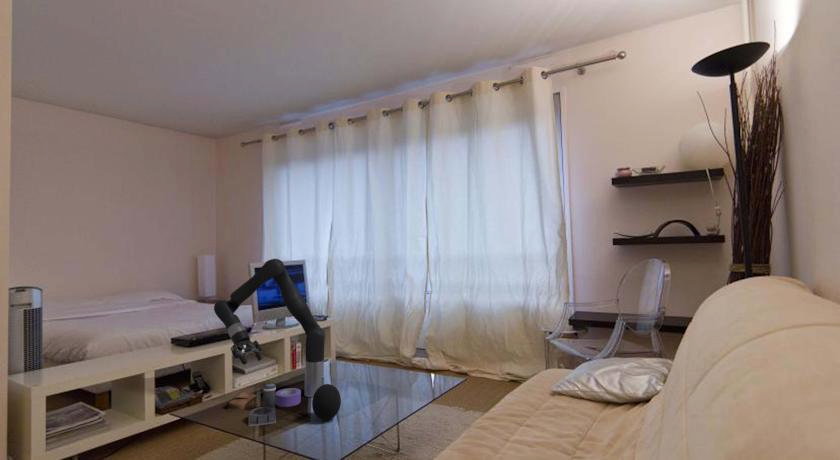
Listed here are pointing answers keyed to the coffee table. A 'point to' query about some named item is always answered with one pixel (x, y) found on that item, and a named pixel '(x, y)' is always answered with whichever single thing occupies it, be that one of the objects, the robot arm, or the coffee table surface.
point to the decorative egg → (326, 402)
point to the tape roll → (288, 397)
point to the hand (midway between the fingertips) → (253, 361)
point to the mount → (262, 416)
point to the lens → (269, 395)
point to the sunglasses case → (240, 400)
